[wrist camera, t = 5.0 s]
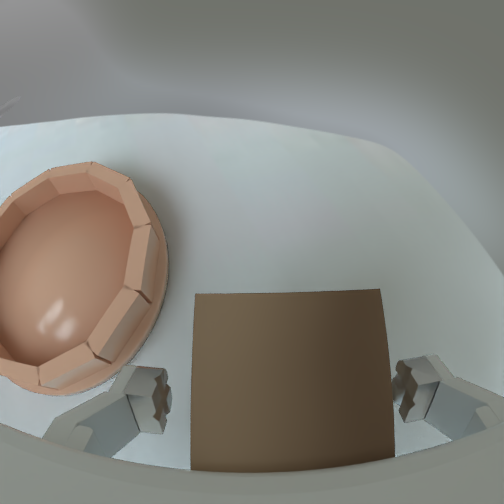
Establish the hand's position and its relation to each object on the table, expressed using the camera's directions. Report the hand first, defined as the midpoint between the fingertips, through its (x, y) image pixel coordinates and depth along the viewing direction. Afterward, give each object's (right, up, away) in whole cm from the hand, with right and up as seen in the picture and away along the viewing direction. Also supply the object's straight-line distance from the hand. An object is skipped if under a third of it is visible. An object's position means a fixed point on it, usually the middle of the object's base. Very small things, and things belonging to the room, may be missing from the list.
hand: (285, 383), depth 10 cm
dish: (-14, +3, +8) cm, 17 cm away
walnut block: (0, -3, +5) cm, 6 cm away
